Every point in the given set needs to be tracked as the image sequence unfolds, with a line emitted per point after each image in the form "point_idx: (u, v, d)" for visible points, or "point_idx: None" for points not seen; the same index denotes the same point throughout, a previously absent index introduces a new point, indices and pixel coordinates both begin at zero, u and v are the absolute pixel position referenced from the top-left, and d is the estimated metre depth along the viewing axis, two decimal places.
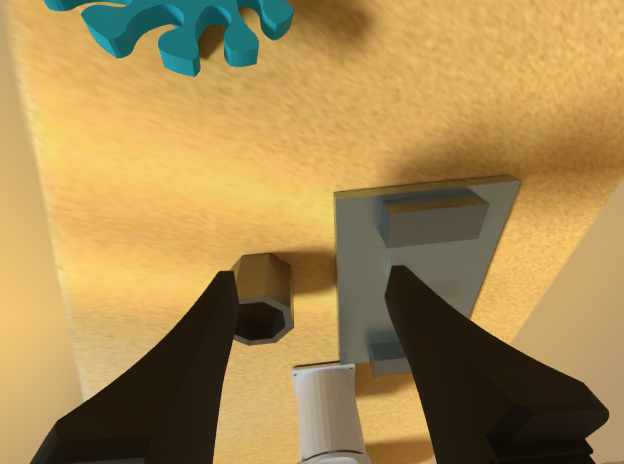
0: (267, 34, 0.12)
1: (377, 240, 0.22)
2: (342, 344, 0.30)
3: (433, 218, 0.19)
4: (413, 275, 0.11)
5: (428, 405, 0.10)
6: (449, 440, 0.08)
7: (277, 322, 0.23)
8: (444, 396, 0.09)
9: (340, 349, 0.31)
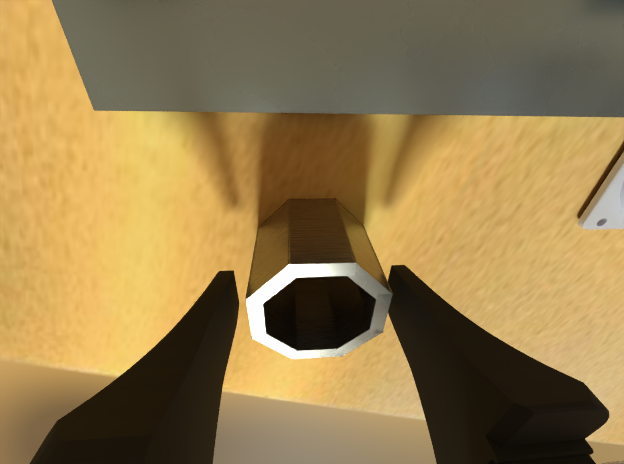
0: None
1: None
2: (562, 107, 0.11)
3: None
4: (413, 275, 0.11)
5: (428, 405, 0.10)
6: (449, 440, 0.08)
7: None
8: (444, 396, 0.09)
9: (582, 113, 0.11)
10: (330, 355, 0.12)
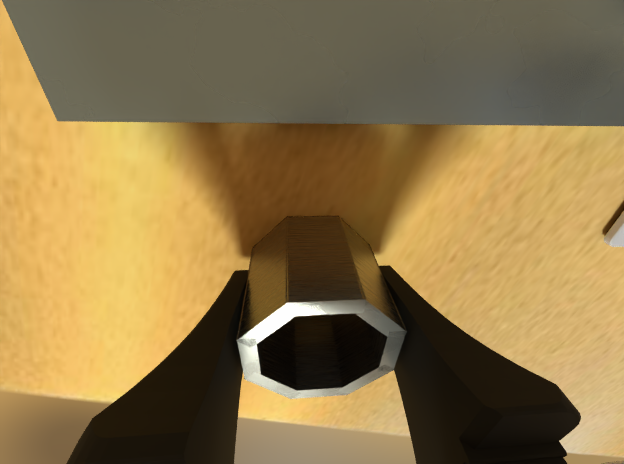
0: None
1: None
2: (599, 116, 0.10)
3: None
4: (397, 275, 0.11)
5: (409, 406, 0.10)
6: (427, 442, 0.08)
7: None
8: (423, 398, 0.09)
9: (620, 122, 0.10)
10: (334, 394, 0.11)
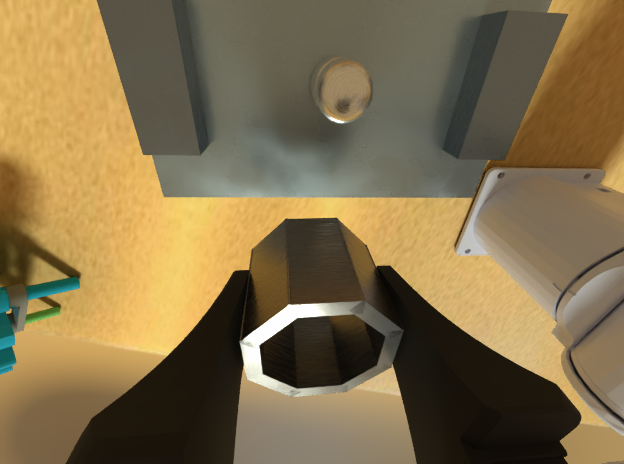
0: None
1: (220, 147, 0.17)
2: (420, 193, 0.20)
3: (139, 89, 0.13)
4: (398, 275, 0.11)
5: (409, 407, 0.10)
6: (428, 442, 0.08)
7: None
8: (423, 398, 0.09)
9: (432, 196, 0.20)
10: (333, 391, 0.11)
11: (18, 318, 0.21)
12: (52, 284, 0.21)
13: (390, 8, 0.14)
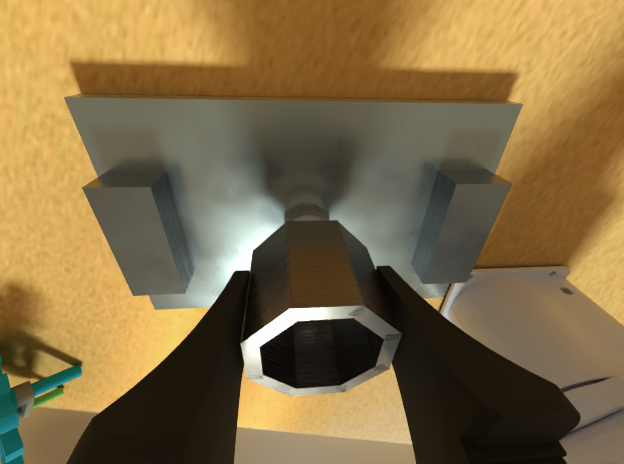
0: (10, 390, 0.19)
1: (204, 272, 0.18)
2: None
3: (127, 253, 0.15)
4: (397, 275, 0.11)
5: (409, 407, 0.10)
6: (427, 442, 0.08)
7: None
8: (423, 398, 0.09)
9: None
10: (332, 391, 0.12)
11: (25, 410, 0.23)
12: (56, 377, 0.23)
13: (353, 170, 0.15)
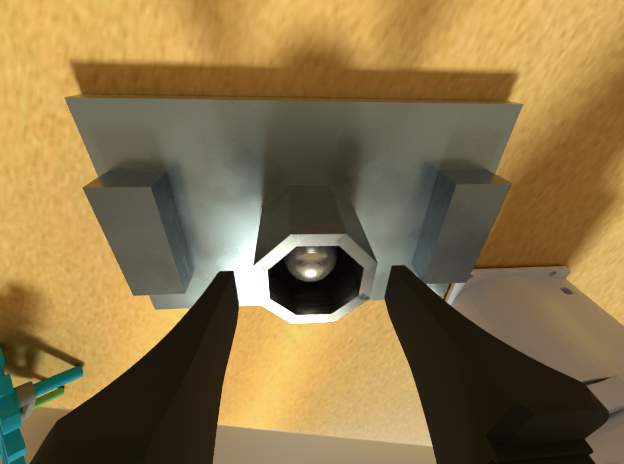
0: (12, 390, 0.19)
1: (205, 272, 0.18)
2: None
3: (127, 253, 0.15)
4: (413, 275, 0.11)
5: (428, 405, 0.10)
6: (449, 440, 0.08)
7: None
8: (444, 396, 0.09)
9: None
10: (324, 320, 0.14)
11: (26, 410, 0.23)
12: (58, 378, 0.23)
13: (353, 170, 0.15)
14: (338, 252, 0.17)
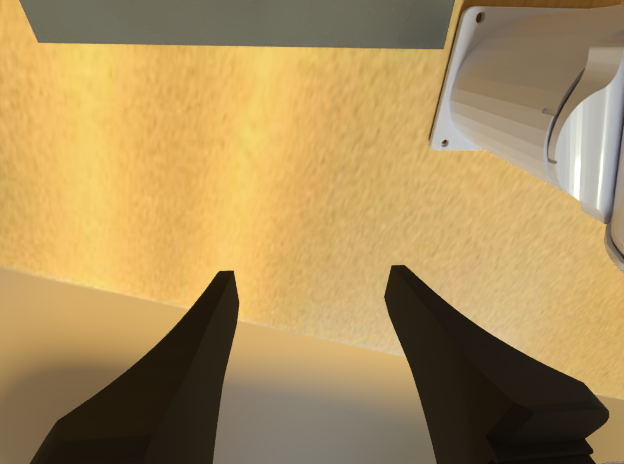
0: None
1: None
2: (372, 41, 0.15)
3: None
4: (413, 275, 0.11)
5: (428, 405, 0.10)
6: (449, 440, 0.08)
7: None
8: (444, 396, 0.09)
9: (389, 46, 0.15)
10: None
11: None
12: None
13: None
14: None
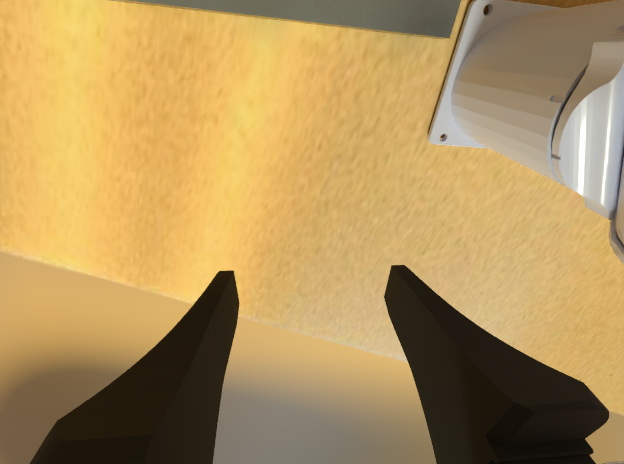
0: None
1: None
2: (379, 22, 0.15)
3: None
4: (413, 275, 0.11)
5: (428, 405, 0.10)
6: (449, 440, 0.08)
7: None
8: (444, 396, 0.09)
9: (395, 29, 0.15)
10: None
11: None
12: None
13: None
14: None
